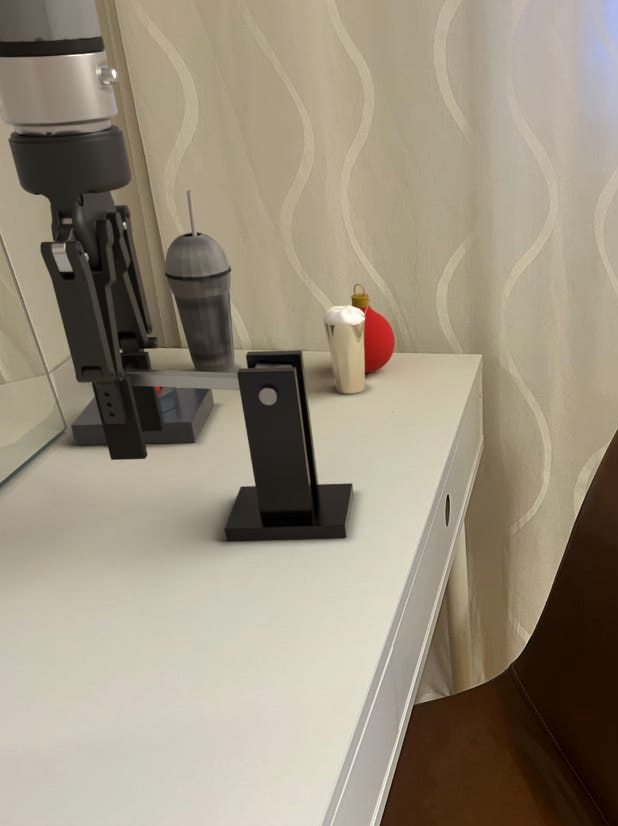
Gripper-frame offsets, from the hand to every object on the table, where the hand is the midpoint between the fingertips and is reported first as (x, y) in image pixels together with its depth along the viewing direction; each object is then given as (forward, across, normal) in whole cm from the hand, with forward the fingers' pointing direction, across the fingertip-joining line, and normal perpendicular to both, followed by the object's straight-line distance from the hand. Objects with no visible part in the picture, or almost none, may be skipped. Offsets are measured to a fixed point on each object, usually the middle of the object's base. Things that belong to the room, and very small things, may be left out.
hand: (138, 442), depth 80 cm
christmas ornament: (+7, +37, -16) cm, 41 cm away
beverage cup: (+7, +38, +2) cm, 39 cm away
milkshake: (+7, +31, -15) cm, 35 cm away
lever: (-4, 0, -6) cm, 7 cm away
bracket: (+7, 0, -12) cm, 14 cm away
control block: (+7, +22, +6) cm, 24 cm away
